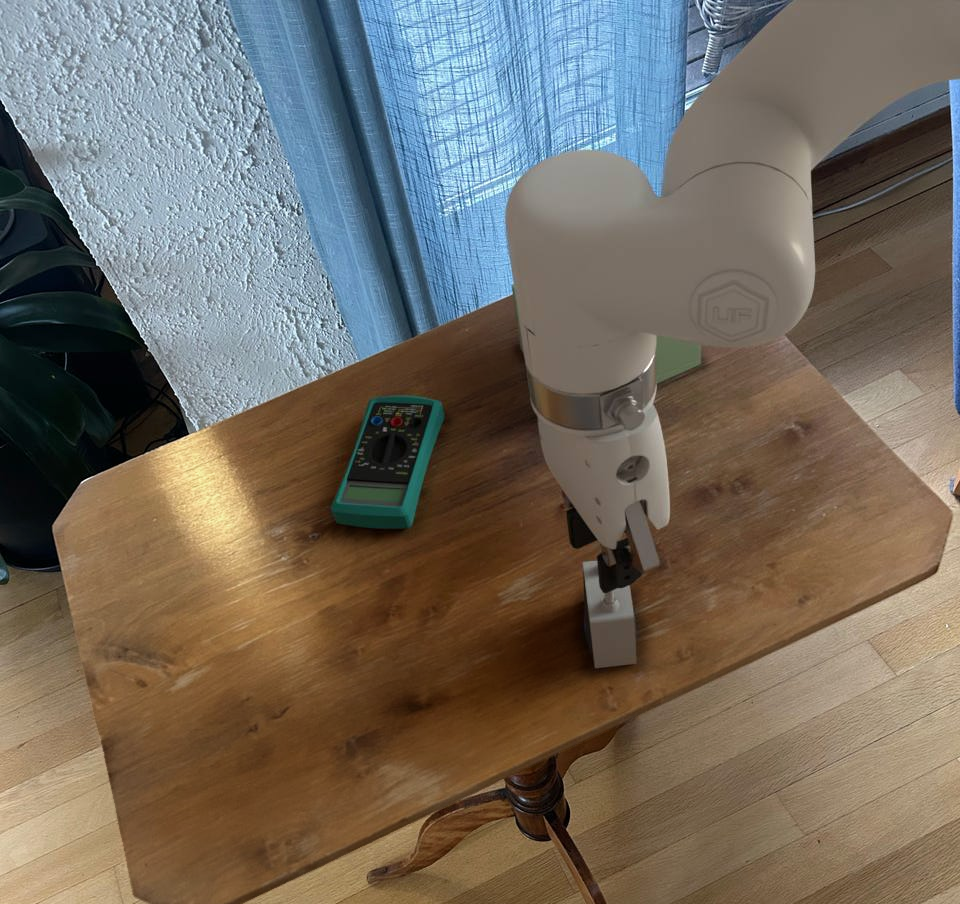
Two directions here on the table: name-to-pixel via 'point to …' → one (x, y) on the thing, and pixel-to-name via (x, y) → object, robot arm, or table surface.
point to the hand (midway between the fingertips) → (605, 559)
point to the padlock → (608, 621)
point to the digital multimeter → (388, 462)
